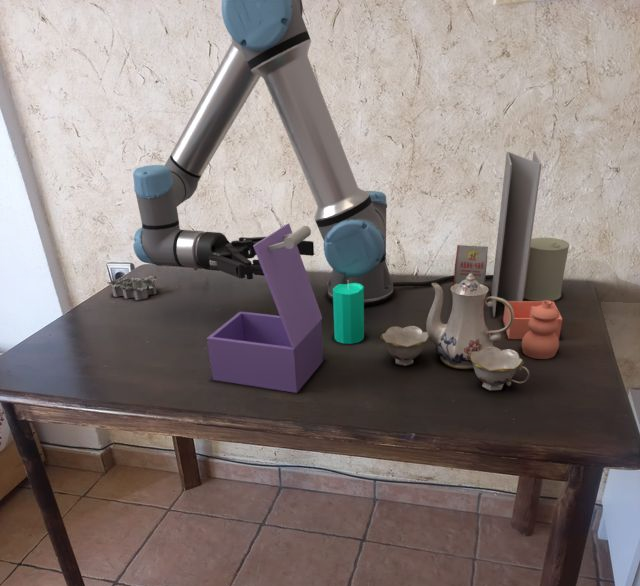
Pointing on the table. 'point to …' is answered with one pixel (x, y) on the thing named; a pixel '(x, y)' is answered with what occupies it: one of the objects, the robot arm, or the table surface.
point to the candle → (348, 313)
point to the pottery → (535, 327)
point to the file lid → (289, 281)
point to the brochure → (515, 226)
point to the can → (545, 269)
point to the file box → (263, 353)
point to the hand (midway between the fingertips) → (300, 258)
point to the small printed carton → (470, 263)
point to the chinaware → (460, 336)
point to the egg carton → (134, 287)
